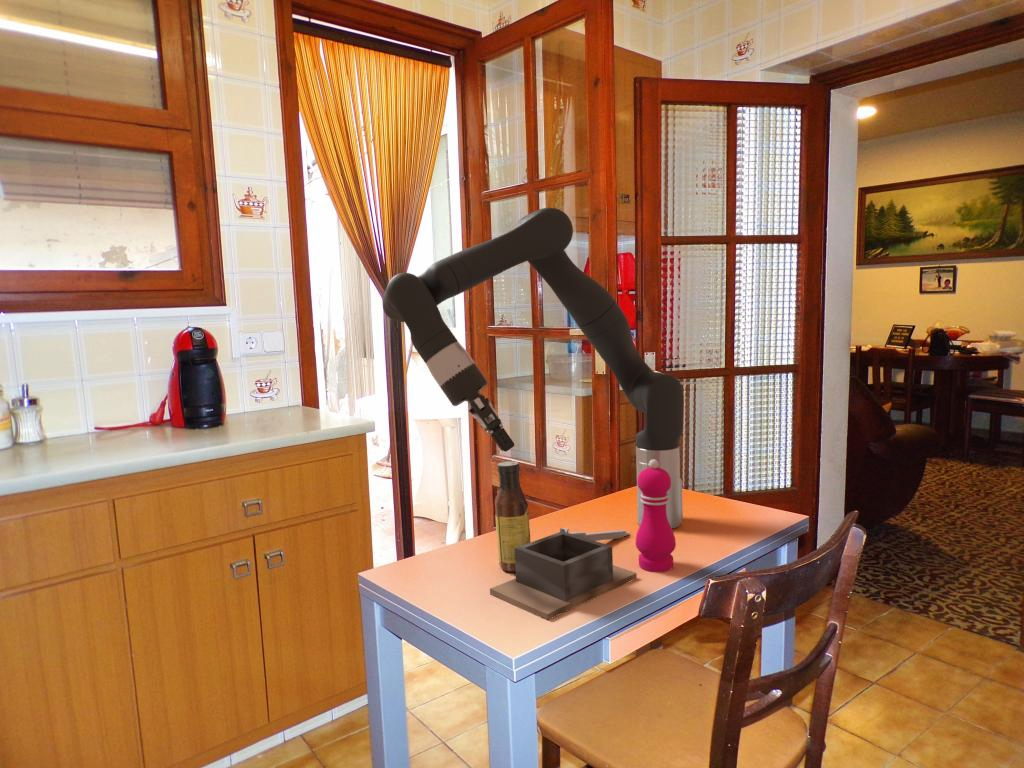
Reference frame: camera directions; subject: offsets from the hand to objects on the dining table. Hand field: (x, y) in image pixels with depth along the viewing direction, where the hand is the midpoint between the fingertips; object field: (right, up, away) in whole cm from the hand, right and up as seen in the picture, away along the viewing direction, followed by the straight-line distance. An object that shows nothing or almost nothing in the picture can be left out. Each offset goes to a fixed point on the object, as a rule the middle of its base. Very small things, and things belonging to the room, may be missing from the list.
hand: (508, 448), depth 119 cm
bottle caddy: (+10, -24, -2) cm, 26 cm away
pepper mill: (+27, -22, +5) cm, 35 cm away
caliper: (+17, -22, +16) cm, 32 cm away
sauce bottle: (+1, -23, +7) cm, 24 cm away
